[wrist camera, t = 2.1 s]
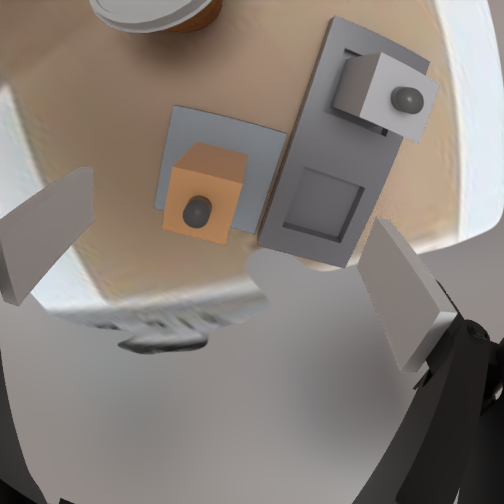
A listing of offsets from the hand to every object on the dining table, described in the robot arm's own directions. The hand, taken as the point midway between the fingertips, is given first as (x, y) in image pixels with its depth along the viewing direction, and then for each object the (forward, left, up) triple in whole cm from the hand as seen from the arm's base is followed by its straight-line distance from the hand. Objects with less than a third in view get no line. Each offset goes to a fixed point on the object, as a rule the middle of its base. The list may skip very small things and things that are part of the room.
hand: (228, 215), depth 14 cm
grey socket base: (+9, +2, -18) cm, 20 cm away
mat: (-2, -4, -18) cm, 18 cm away
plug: (-2, -4, -17) cm, 18 cm away
